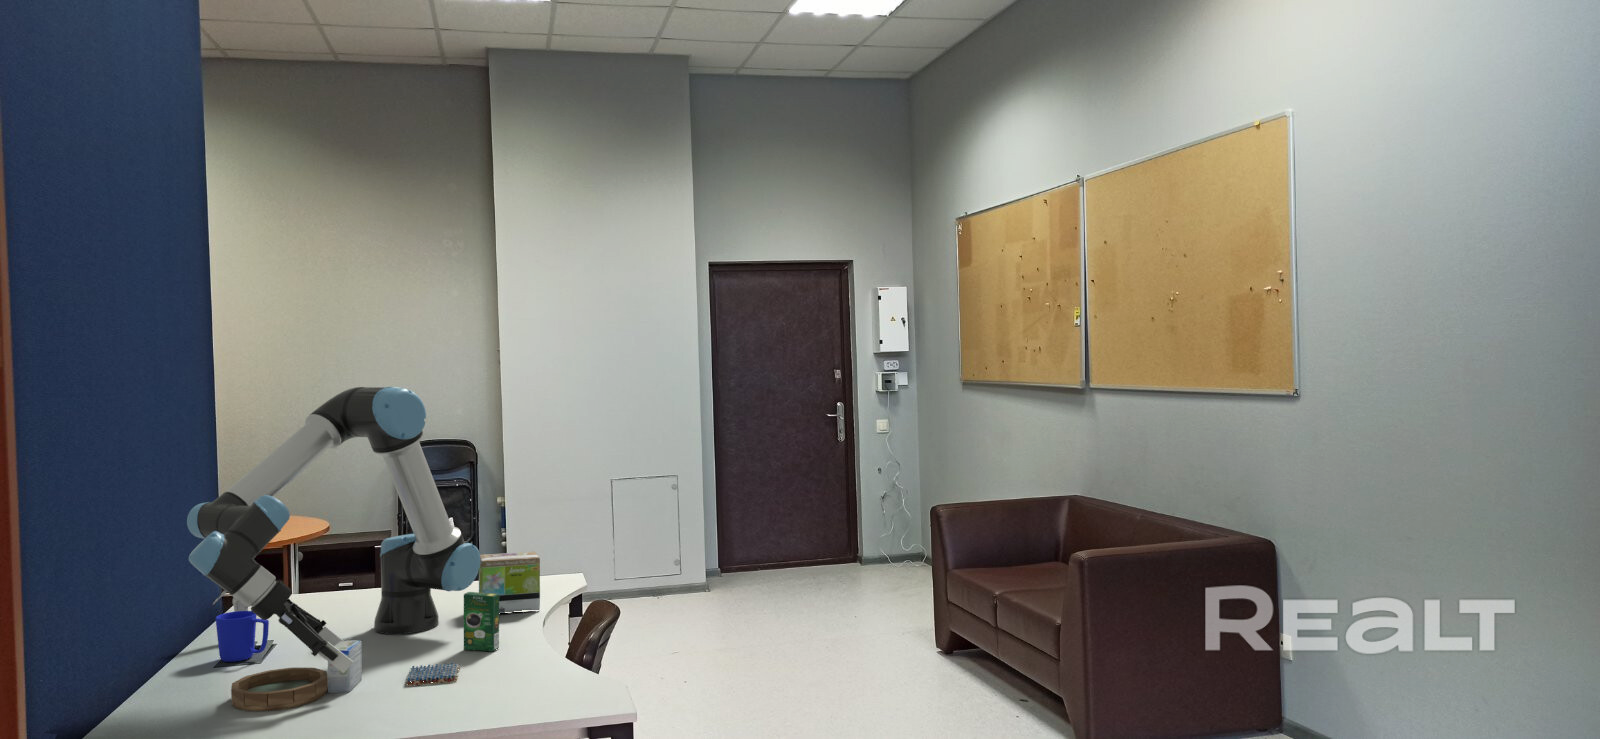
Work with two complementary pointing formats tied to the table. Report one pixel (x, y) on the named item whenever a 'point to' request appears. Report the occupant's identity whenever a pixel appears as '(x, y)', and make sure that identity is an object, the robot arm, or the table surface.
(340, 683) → the medicine box
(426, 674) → the woven mat
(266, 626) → the mug
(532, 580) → the tea box
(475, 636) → the coffee box
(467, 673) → the table surface
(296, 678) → the round tray
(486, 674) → the table surface
